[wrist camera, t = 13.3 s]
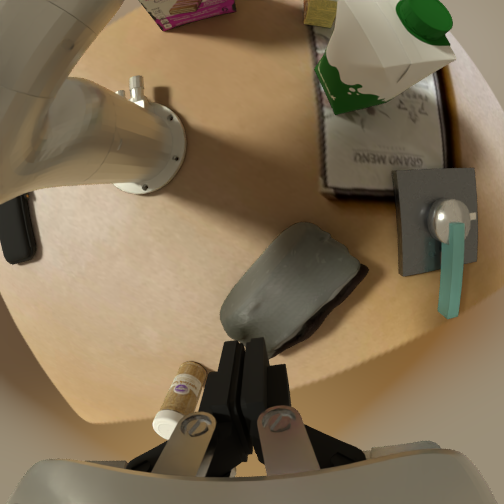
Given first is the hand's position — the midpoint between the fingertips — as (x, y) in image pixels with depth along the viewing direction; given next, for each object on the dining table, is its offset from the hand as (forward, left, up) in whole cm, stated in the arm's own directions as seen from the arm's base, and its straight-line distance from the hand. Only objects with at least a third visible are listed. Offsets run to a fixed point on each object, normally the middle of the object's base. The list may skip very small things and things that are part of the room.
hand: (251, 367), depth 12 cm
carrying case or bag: (-11, -42, -27) cm, 51 cm away
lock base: (0, +25, -26) cm, 36 cm away
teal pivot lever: (+5, +25, -24) cm, 35 cm away
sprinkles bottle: (+19, -14, -26) cm, 35 cm away
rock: (+6, +3, -27) cm, 27 cm away
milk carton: (-19, +14, -26) cm, 36 cm away
